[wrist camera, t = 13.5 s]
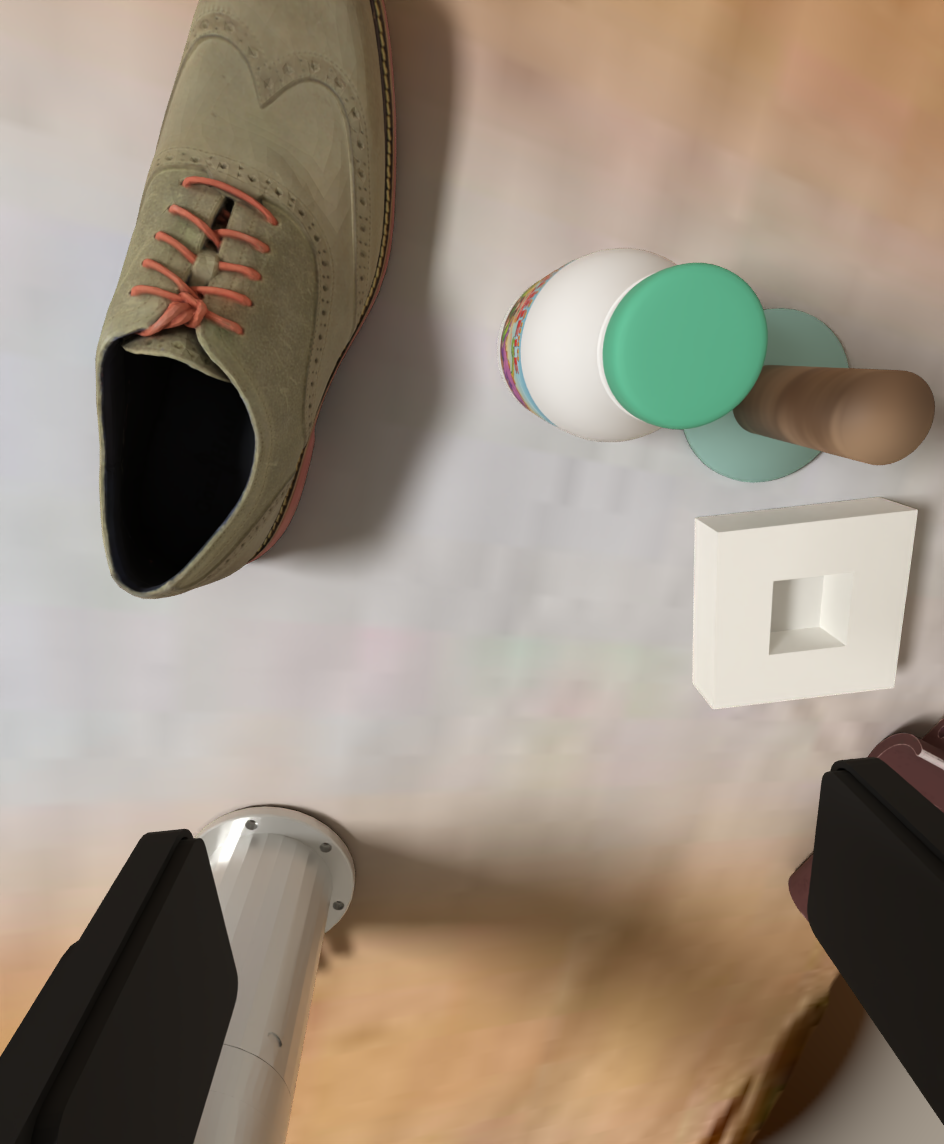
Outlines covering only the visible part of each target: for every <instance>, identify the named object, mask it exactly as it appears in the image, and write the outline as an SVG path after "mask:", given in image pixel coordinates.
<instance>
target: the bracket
mask: <svg viewBox="0 0 944 1144" xmlns="http://www.w3.org/2000/svg"><path fill="white" fill-rule="evenodd" d="M868 757H876V758H879V759H881V760H882V761H884V762H885V763H886V764H888V765H889V766H890V767H891V768H892V769H893V770H894V771H896V772H897V773H898V774H899V775H900V776H901V777H903V778H904V779H905V780H906V781H907V782H908V783H909V784H911V785H912V786H913V787H914V788H915V789H916V790H918V791H919V792H920V793H921V794H922V795H923V796H924V797H926V798H927V799H928V800H929V801H930V802H931V803H932V804H934V805H935V806H936V807H937V808H938V809H939V810H941V811H942V812H943V813H944V718H943V719H942V720H940V721H939V722H938V723H937V724H936V725H935V726H934V727H933V728H932V729H931V730H930V731H929V732H928V733H927V734H926V735H925V736H924V737H923V738H922V739H919V738H917V737H915V736H913V735H912V734H909V733H898V734H894V735H892V736H890V737H888V738H886V739H885V740H883V741H882V742H880V743H879V744H878V745H877V746H876V747H875V748H874V749H873V750H872V752H871V753H870V754H869V756H868ZM868 757H867V758H868ZM812 860H813V854H812V855H811V856H810V857H809V858H808V859H807V860H806V861H805V862H804V863H803V864H802V865H801V866H800V867H799V868H798V869H797V870H796V871H795V872H794V873H793V874H792V875H791V876H790V878H789V883H788V885H789V891H790V894H791V897H792V899H793V901H794V903H795V905H796V906H797V908H798V909H799V911H800V912H801V913H802V915H803V916H804V917H805V918H806V919H807V920H808V915H807V903H808V894H809V886H810V877H811V869H812ZM808 921H809V920H808Z"/></svg>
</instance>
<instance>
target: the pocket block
mask: <svg viewBox="0 0 944 1144" xmlns="http://www.w3.org/2000/svg"><path fill="white" fill-rule="evenodd" d="M917 514H918V510H917V509H914V508H911V507H908V506H905V505H902V504H899V503H896V502H893V501H890V500H887V499H884V498H881V497H874V498H865V499H856V500H847V501H838V502H830V503H821V504H812V505H803V506H794V507H785V508H777V509H768V510H759V511H750V512H741V513H733V514H724V515H715V516H706V517H697V518H695V546H694V608H693V671H692V683H693V685H694V686H695V687H696V688H697V690H698V691H699V692H700V694H701V695H702V696H703V697H704V699H705V700H706V701H707V703H708V704H709V705H710V706H711V708H712V709H721V708H730V707H738V706H747V705H755V704H763V703H772V702H780V701H788V700H797V699H805V698H814V697H822V696H830V695H839V694H847V693H855V692H864V691H872V690H880V689H889V688H894V684H895V676H896V669H897V661H898V654H899V647H900V639H901V632H902V625H903V617H904V610H905V602H906V595H907V588H908V580H909V573H910V566H911V558H912V551H913V543H914V536H915V529H916V521H917Z"/></svg>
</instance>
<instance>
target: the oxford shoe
mask: <svg viewBox="0 0 944 1144" xmlns="http://www.w3.org/2000/svg"><path fill="white" fill-rule="evenodd" d="M395 189H396V107H395V92H394V77H393V63H392V53H391V44H390V34H389V28H388V21H387V15H386V9H385V5H384V0H199V3H198V6H197V9H196V11H195V14H194V17H193V21H192V24H191V28H190V32H189V35H188V39H187V43H186V46H185V49H184V53H183V56H182V60H181V63H180V66H179V70H178V73H177V76H176V80H175V83H174V86H173V90H172V93H171V96H170V99H169V103H168V106H167V109H166V112H165V116H164V120H163V123H162V127H161V131H160V135H159V139H158V143H157V147H156V152H155V155H154V158H153V161H152V164H151V167H150V170H149V173H148V176H147V180H146V184H145V188H144V192H143V195H142V200H141V204H140V209H139V213H138V218H137V222H136V227H135V229H134V232H133V235H132V238H131V242H130V245H129V248H128V252H127V255H126V258H125V262H124V265H123V268H122V272H121V275H120V278H119V282H118V285H117V288H116V291H115V293H114V296H113V298H112V301H111V303H110V306H109V308H108V311H107V315H106V318H105V322H104V325H103V328H102V332H101V335H100V339H99V343H98V346H97V352H96V404H97V415H98V426H99V441H100V473H99V492H100V510H101V524H102V534H103V543H104V547H105V552H106V557H107V561H108V565H109V569H110V572H111V576H112V578H113V579H114V581H115V582H116V583H117V584H118V586H119V587H120V588H122V589H123V590H125V591H126V592H128V593H130V594H132V595H134V596H136V597H140V598H143V599H157V598H164V597H170V596H175V595H178V594H182V593H184V592H187V591H190V590H192V589H195V588H198V587H201V586H204V585H207V584H210V583H213V582H215V581H218V580H221V579H223V578H225V577H227V576H229V575H231V574H233V573H234V572H236V571H237V570H239V569H240V568H242V567H243V566H244V565H245V564H248V563H250V562H252V561H254V560H256V559H257V558H259V557H260V556H262V555H263V554H264V553H266V552H267V551H268V550H269V549H270V548H271V547H272V546H273V545H274V544H275V543H276V542H277V541H278V540H279V538H280V537H281V536H282V534H283V533H284V532H285V530H286V528H287V527H288V525H289V523H290V522H291V519H292V517H293V515H294V513H295V511H296V509H297V506H298V503H299V501H300V498H301V494H302V491H303V488H304V484H305V481H306V476H307V472H308V469H309V465H310V461H311V457H312V452H313V447H314V442H315V434H314V432H315V425H316V421H317V418H318V415H319V412H320V409H321V406H322V404H323V401H324V398H325V396H326V393H327V391H328V389H329V387H330V384H331V382H332V380H333V378H334V376H335V374H336V372H337V369H338V367H339V365H340V364H341V362H342V360H343V358H344V356H345V355H346V353H347V351H348V349H349V347H350V346H351V344H352V342H353V341H354V339H355V337H356V335H357V334H358V332H359V330H360V329H361V327H362V325H363V323H364V321H365V319H366V317H367V316H368V314H369V312H370V310H371V308H372V306H373V304H374V302H375V299H376V297H377V295H378V293H379V290H380V287H381V284H382V281H383V279H384V276H385V273H386V269H387V265H388V261H389V256H390V251H391V244H392V235H393V227H394V210H395Z"/></svg>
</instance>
